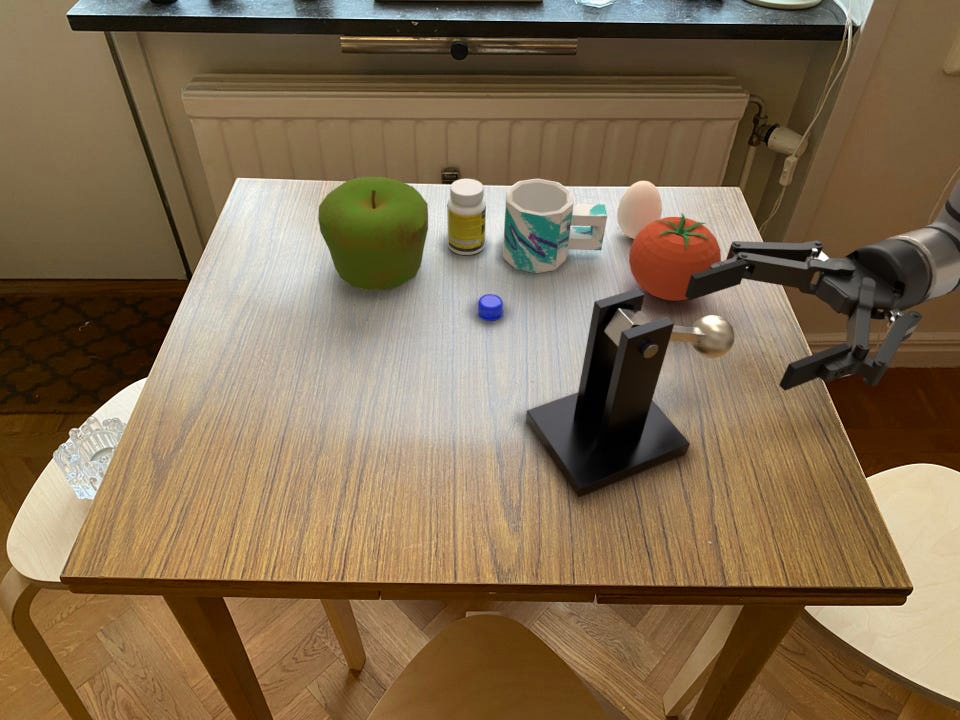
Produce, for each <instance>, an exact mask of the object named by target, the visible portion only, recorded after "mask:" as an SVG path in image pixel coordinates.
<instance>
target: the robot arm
mask: <svg viewBox="0 0 960 720" xmlns="http://www.w3.org/2000/svg"><path fill="white" fill-rule="evenodd" d="M824 246H825V244H824V242H822V241H820V240H817V239H816V240H810V241H806V242H775V241H773V242H772V241H743V240H741V241H739V240H738V241H737V240H735V241H732V242H731V243H730V247H729V249H728V253H727V256H726V258H725V259H724V260H721V262H718V263H715V264H713V265H711V267H710V269H708V270H705V271H702V272H698V273H695V274H692V275H691V277H690V280H689V284H688V287H687V291H686V294H685V297H687V298H688V299H687V300H689V301H691V300H695V299H698V298H702V297H705V296H708V295H710V294H714V293H717V292H720V291H723V290H726V289H729V288H733V287H735V286H738V285H739V286H740V285H741V283H742V280H749V281H755V282H760V283H766V284H772V285H778V286H784V287H790V288H794V289H798V290H799V292H800V293H801V294H806V295H812V296H815V297H816V298H818V299H819V300H820V301H821V302H823V303H826V304H827V305H828V306H829V307H830V308H831V309H832V310H833V311H834V312H835V313H836V314H837V315H839V314H842V315H845V316H847V317H846V324H845V329H846V337H845V338H846V339H845V342H843V343H839V344H837V345H835V346H832V347H829V348H827V349H824V350H822V351H821V350H820V351H819V352H815V353H814V354H811V355H808V356H805V357H802V358H800V359H798V360H795V361H791V362H790V363H788V365H787V367H786V369H785V372H784V373H783V375H782V378H781V380H780V381H779V387H780V388H781V389H782V390H783V391H785V392H786V391H788V390H790V389H794V388H796V387H799V386H801V385H804V384H806V383H808V382H812V381H813V380H816V379H818V378H819V379H820V380H822V381H823V382H825V383H828V382H832V381H835V380H838V379H840V378H843V377H845V376H847V375H848V376H849V375H850V376H851V375H852V376H855V375H858V376H861V377H862V378H863V382H864V383H865V384H866V385H868V386H871V387H876V386H877V385H878V384H879V383H880V381H881V379H882V378H883V376H884V374H885V373H886V371H887V369H888V368H889V366H890V364H891V362H892V360H893V358H894V356H895V354H896V353H897V351H898V349H899V347H900V345H901V343H903V342H904V341H906V340H908V339H909V338H911V337H912V335H913V333H914V331H916V328H917V326H918V325H919V323H920V321H922V318H923V316H922V314H921V313H920V312H918V311H915V310H910V311H907V312H903V311H906V310H908V309H911V308H913V307H917V306H919V305H921V304H924V303H927V302H929V301H932V300H935V299H938V298H941V297H943V296H945V295H949V294H950V293H952V292H955V291H959V290H960V177H958V180H957V182H956V184H955V185H954V187H953V189H952V191H951V193H950V194H949V196H948V197H947V199H946V200H945V202H944V204H943V205H942V207H941V209H940V211H939V212H938V214H937V216H936V218H935V220H934V221H932V223H931V224H928V225H926V226H922V227H919V228H917V229H913V230H911V231H910V230H909V231H907V232H904V233H900V234H898V235H897V234H896V235H894V236H890V237H888V238H885V239H882V240H879V241H875V242H873V243H870V244H867V245H863V246H860V247H858V248H856V249H854V250H853V251H851V252H850V253H849V254H847V255H846V256H843V257H829V256H828V255H827V254H826V253H825V252H823V248H824ZM817 272H819V273H818V275H817V278H816V281H815V283H812V280H813V279H814V277H815V274H816V273H817ZM871 319H872V320H877V321H878V320H879V321H880V320H882V321H883V320H887V323H886V327H887V330H886V333H887V335H886V337H885V338H884V340H883V342H882V344H881V345H880V348H879V349H878V351H877V353H876V354H875V356H874V358H873V357H871V356H870V355H868V354H869V352H870V351H871V349H872V346H869V344H870V332H871V331H870V330H871Z"/></svg>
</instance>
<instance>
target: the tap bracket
mask: <svg viewBox="0 0 960 720" xmlns="http://www.w3.org/2000/svg"><path fill="white" fill-rule="evenodd" d="M645 296H646V294H645V293H644V292H643V291H642V290H641V289H640V288H639V287H637V288H634V289H631V290H628V291H624V292H621V293H618V294H614V295H611V296H608V297H605V298H601V299H598V300H595V301H594V303H593V308H592V313H591V319H590V325H589V328H588V329H589V330H588V334H587V335H588V336H587V341H586V347H585V352H584V357H583V362H582V363H583V364H582V369H581V374H580V380H579V385H578V391H577V392H575V393H573V394H570V395H569V394H568V395H567V396H563V397H561V398H557V399H556V400H555V399H554V400H553V401H550V402H547V403H544V404H541V405H538V406H536V407H533V408H530V409H527V410H526V414H525V421H526V423H527V424H528V426H529V427H530V429H531V430H532V431H533V433H534V435H535V436H536V437H537V439H538V441H539V442H540V443H541V445H542V446H543V448H544V450H545V451H546V452H547V453H548V455H549V456H550V458H551V459H552V461H553V462H554V464H555V465H556V467H557V468H558V469H559V471H560V473H561V474H562V475H563V477H564V478H565V480H566V481H567V483H568V485H569V486H570V487H571V489H572V490H573V492H574V493H575V495H576V496H577V497H578V498H581V497H583V496H586V495H589V494H591V493H593V492H596V491H598V490H601V489H604V488H605V487H608V486H610V485H613V484H615V483H618V482H621V481H622V480H626V479H627V478H630V477H632V476H636V475H637V474H640V473H642V472H645V471H648V470H650V469H652V468H654V467H657V466H659V465H662V464H664V463H666V462H669V461H672V460H673V459H676V458H679V457H681V456H683V455H686V454H687V453H688V450H689V448H690V445H691V443H690V441H689V440H688V439H687V438H686V437H685V436H684V435H683V434H682V432H681V431H680V430H679V429H678V428H677V426H676V425H675V424H674V423H673V422H672V421H671V420H670V419H669V417H668V416H667V415H666V414H665V413H664V412H663V411H662V409H661V408H660V407H659V406H658V405H657V404H656V402H655V401H654V400H653V399H654V395H655V392H656V388H657V385H658V383H659V382H658V381H659V378H660V374H661V371H662V368H663V364H664V362H665V357H666V355H667V351H668V347H669V343H670V341H669V340H670V337H671V333H672V330H673V327H674V325H675V323H674V322H673V321H672V320H671V319H670V318H669V317H668V316H664V317H662V318H659V319H655V320H653V321H651V322H649V323H646V324H643V325H640V326H637V327H634V328H631V329H628V330H625V331H622V332H621V337H620V341H619V346H617V345H616V344H615V343H614V342H613V340H612V339H611V338H610V337H609V336H608V335H607V334H606V333H605V331H604V330H605V329H606V327H607V326H608V324H609V322H610V321H611V319H612V318H613V316H614V314H615V313H616V311H617V310H618V308H620V309H628V310H637V311H641V312H642V309H643V305H644V301H645Z"/></svg>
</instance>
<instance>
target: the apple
mask: <svg viewBox="0 0 960 720" xmlns="http://www.w3.org/2000/svg"><path fill="white" fill-rule="evenodd" d="M428 205H429V204H428V202H427V201H426V200H425V199H424V197H423V195H422V194H421V193H420V192H419V191H418V190H417V188H415V187H414V186H412V185H410V184H408V183H405V182H404V181H401V180H399V179H393V178H389V177H384V176H362V177H357V178H352V179H347V180H346V181H344V182H343V183H342V184H340V185H339V186H337V187H336V188H334V189H333V190H331V191H330V192H328V193H327V194H326V195H325V197H324V198H323V200H322V201H321V203H320V204H319V205H318V217H317V219H318V220H317V221H318V225H319V231H320V234H321V236H322V238H323V240H324V242H325V244H326V246H327V249H328V250H329V254H330V257H331V260H332V263H333V266H334V269H335V271H336V273H337V275H338V277H339V278H340V279H341V280H342V281H343V282H345V283H346V284H347V285H348V286H350V287H353V288H357V289H360V290H365V291H387V290H389V289H393V288H396V287H399V286H402V285H403V284H405V283H407V282H409V281H411V280H412V279H414V278H415V277H416V276H417V274H418V272H419V270H420V269H421V267H422V262H423V261H422V260H423V255H424V250H425V245H426V240H427V235H428V230H429V206H428Z"/></svg>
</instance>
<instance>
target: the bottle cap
mask: <svg viewBox="0 0 960 720" xmlns="http://www.w3.org/2000/svg"><path fill="white" fill-rule="evenodd" d="M476 314H477V316H478V317H479V318H480V319H481V320H484V321H487V322H494V321H495V322H496V321H498V320H500V319H501V318H502V317H503V315H504V301H503V300H502V298H501V297H500V296H499V295H497V294H495V293H494V294H493V293H487V294H484V295H482V296H481V297H480V298H479V299H478V301H477V308H476Z"/></svg>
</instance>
